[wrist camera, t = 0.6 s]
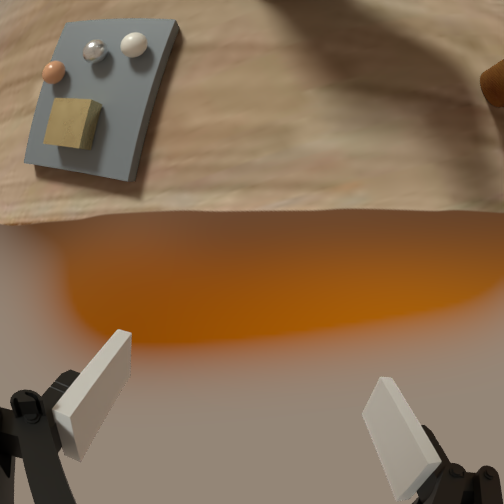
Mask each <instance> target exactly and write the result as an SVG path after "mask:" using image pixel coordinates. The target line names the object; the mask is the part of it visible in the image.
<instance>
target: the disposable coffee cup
mask: <svg viewBox="0 0 504 504" xmlns="http://www.w3.org/2000/svg"><path fill="white" fill-rule="evenodd" d="M480 84H481V89H482V92H483V94H484V96H485V97H486V99H487V100H488V101H489V102H490V103H491V104H492V105H493V106H495V107H504V59H503V60H502V61H500V62H498V63H497V64H496V65H494V66H492V67H491V68H490V69H488V70H486V71H485V72H483V73H482V74H481V77H480Z"/></svg>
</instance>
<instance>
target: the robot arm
mask: <svg viewBox="0 0 504 504" xmlns="http://www.w3.org/2000/svg"><path fill="white" fill-rule="evenodd" d="M131 336H132V333H129V332H126V331H122V330H119V329H118V330H117V331H116V332H115V333H114V334H113V336H112V337H111V338H110V339H109V340H108V341H107V343H106V344H105V345H104V346H103V347H102V348H101V350H100V351H99V352H98V353H97V354H96V356H95V357H94V358H93V359H92V360H91V361H90V363H89V364H88V365H87V366H86V368H85V369H84V370H83V371H82V372H81V373H78V372H75V371H73V370H69V371H66V372H64V373H62V374H61V375H60V376H59V377H58V378H57V379H56V380H55V382H54V383H53V384H52V385H51V387H49V388H48V389H47V391H46V392H45V393H44V394H43V395H42V396H40V395H39V394H38V393H36V392H34V391H32V390H20V391H18V392H16V393H14V394H13V395H12V397H11V400H10V403H11V406H12V410H9V409H5V408H1V407H0V504H14V472H15V457H19V458H23V462H24V467H25V471H26V474H27V478H28V482H29V486H30V490H31V493H32V496H33V499H34V502H35V504H76V502H75V499H74V497H73V494H72V492H71V489H70V487H69V484H68V481H67V479H66V476H65V473H64V471H63V468H62V465H61V462H60V459H59V456H58V452H59V451H60V449H61V447H62V449H63V452H64V455H66V456H68V457H70V458H72V459H75V460H77V461H79V462H81V461H82V459H83V457H84V455H85V453H86V452H87V450H88V448H89V446H90V444H91V443H92V441H93V439H94V437H95V436H96V434H97V432H98V430H99V429H100V427H101V425H102V423H103V422H104V420H105V418H106V416H107V415H108V413H109V411H110V410H111V408H112V406H113V404H114V403H115V401H116V399H117V398H118V396H119V394H120V392H121V391H122V389H123V387H124V386H125V384H126V382H127V381H128V379H129V377H130V369H131V368H130V367H131V363H130V362H131ZM362 416H363V418H364V421H365V424H366V426H367V428H368V431H369V433H370V436H371V438H372V441H373V443H374V446H375V448H376V451H377V454H378V456H379V459H380V461H381V464H382V466H383V469H384V471H385V474H386V477H387V479H388V482H389V485H390V487H391V490H392V492H393V495H394V497H395V501H401V500H407V499H410V498H411V497H412V496H413V495H414V494H415V493H416V491H417V494H418V496H419V497H418V498H417V499H416V500H415V501H414V502H413V503H412V504H503V499H502V492H501V486H500V479H499V475H498V472H497V471H496V470H495V469H494V468H493V467H490V466H483V467H481V468H480V469H479V470H478V472H477V473H470V472H466V471H465V469H464V468H463V467H462V466H460V465H459V464H455V463H450V461H449V459H448V458H447V456H446V454H445V453H444V451H443V449H442V448H441V446H440V445H439V443H438V441H437V440H436V438H435V436H434V434H433V433H432V431H431V430H430V429H428V428H427V427H426V426H425V425H420V423H419V421H418V420H417V418H416V416H415V415H414V413H413V412H412V410H411V408H410V407H409V405H408V403H407V401H406V400H405V398H404V397H403V395H402V394H401V392H400V390H399V389H398V387H397V385H396V384H395V382H394V380H393V379H392V378H391V377H380V378H379V380H378V382H377V384H376V386H375V388H374V391H373V393H372V395H371V397H370V399H369V401H368V403H367V405H366V407H365V409H364V411H363V412H362Z"/></svg>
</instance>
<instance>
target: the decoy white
mask: <svg viewBox="0 0 504 504" xmlns="http://www.w3.org/2000/svg"><path fill="white" fill-rule="evenodd" d="M147 45H148V42H147V39H146V37H145V36H144V35H143V34H141V33H138V32H134V33H130V34H128V35H126V36H125V37H124V38H123V40H122V42H121V45H120V48H121V51H122V53H123V54H124V55H125V56H127V57H131V58H133V57H138V56H140V55H141V54H143V53H144V52H145V50H146V48H147Z"/></svg>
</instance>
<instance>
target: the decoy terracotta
mask: <svg viewBox="0 0 504 504" xmlns="http://www.w3.org/2000/svg"><path fill="white" fill-rule="evenodd" d="M64 75H65V66H64V64H63V63H62V62H60V61H52V62H50V63H48V64H47V65H46V66H45V68H44V69H43V73H42V76H43V79H44V81H45V82H46V83H48V84H56V83H58V82H59V81H61V80H62V78H63V77H64Z"/></svg>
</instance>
